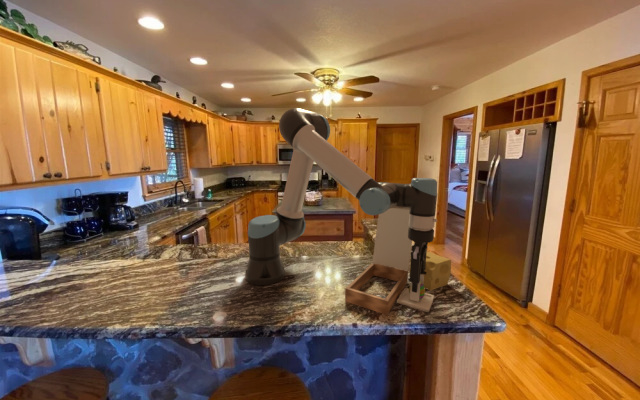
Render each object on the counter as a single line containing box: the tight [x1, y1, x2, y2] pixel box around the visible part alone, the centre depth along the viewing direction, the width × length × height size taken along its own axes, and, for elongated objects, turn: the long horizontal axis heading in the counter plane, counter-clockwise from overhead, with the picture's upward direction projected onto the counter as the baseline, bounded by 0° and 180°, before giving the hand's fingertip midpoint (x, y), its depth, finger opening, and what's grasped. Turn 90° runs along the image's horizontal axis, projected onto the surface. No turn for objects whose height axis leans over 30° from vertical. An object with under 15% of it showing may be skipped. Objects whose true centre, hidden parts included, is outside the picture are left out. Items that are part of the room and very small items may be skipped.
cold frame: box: [344, 262, 409, 316], centre depth 92 cm, size 14×29×14 cm, turn 148°
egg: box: [409, 281, 426, 300], centre depth 85 cm, size 5×5×6 cm
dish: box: [396, 287, 435, 313], centre depth 85 cm, size 10×10×1 cm
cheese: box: [409, 251, 452, 292], centre depth 98 cm, size 10×11×10 cm
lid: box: [371, 206, 413, 272], centre depth 102 cm, size 14×24×1 cm
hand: (416, 295), depth 85 cm, fingers closed on egg, 5 cm apart
